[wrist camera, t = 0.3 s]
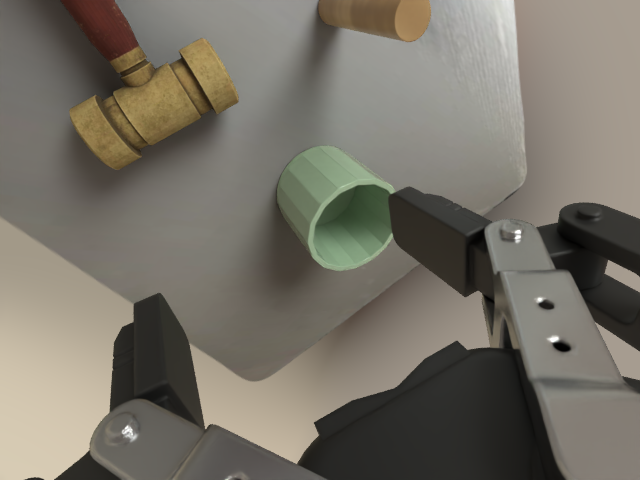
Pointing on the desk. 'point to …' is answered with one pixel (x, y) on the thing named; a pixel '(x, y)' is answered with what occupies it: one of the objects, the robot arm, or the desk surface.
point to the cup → (336, 207)
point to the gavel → (143, 88)
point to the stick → (379, 17)
